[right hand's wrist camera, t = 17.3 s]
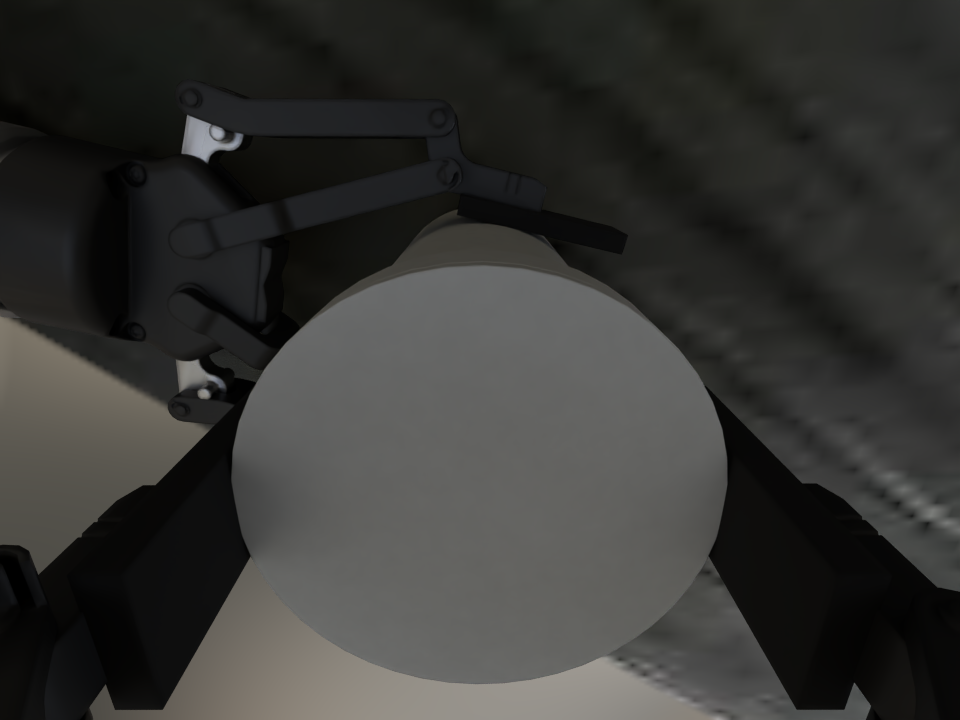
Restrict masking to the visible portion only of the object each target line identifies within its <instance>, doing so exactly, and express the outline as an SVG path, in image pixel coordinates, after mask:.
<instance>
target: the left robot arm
mask: <svg viewBox="0 0 960 720" xmlns="http://www.w3.org/2000/svg"><path fill="white" fill-rule="evenodd" d="M175 100H176V102H177V105H178V107H179V108H180V109H181V110H182V112H183V113H185V114H187V121H186V127H185V134H184V140H183V147H182V154H176V155H172V156H170V157H167V158H163V159H160V158H155V157H151V156H146V155H142V154H138V153H134V152H130V151H125V150H121V149H117V148H113V147H108V146H104V145H100V144H96V143H91V142H87V141H83V140H79V139H75V138H70V137H66V136H60V135H46V134H44V133H42V132H40V131H38V130H36V129H33V128H28V127H24V126H20V125H15V124H11V123H7V122H2V121H0V316H1V317H14V318H22V319H24V320H27V321H30V322H33V323H38V324H43V325H48V326H53V327H57V328H62V329H67V330H72V331H77V332H81V333H86V334H91V335H96V336H101V337H105V338H111V339H119V340H130V341H140V342H145V343H148V344H150V345H152V346H154V347H156V348H158V349H159V350H161V351H162V352H163V353H165V354H166V355H168V356H169V357H171V358H173V359H176V364H177V373H178V382H179V393H178V394H177V395H176V396H175V397H173V398H172V399H171V400H170V401H169V403H168V410H169V413H170V414H171V415H172V417H174V418H175V419H177V420H179V421H184V422H194V423H205V424H217V423H218V422H219V421H220V419H221V418H222V417H223V416H224V415H225V414H226V413H227V412H228V411H229V410H230V409H231V408H232V407H233V406H234V405H235V404H236V403H237V402H238V401H239V400H240V399H241V398H242V397H243V396H244V395H245V394H246V393H247V392H248V391H249V390H250V389H251V388H252V387H253V386H255V385H256V382H253V381H249V380H245V379H240V378H234V376H235V374H234V371H233V370H232V369H230V368H222V367H219V366H217V365H215V364H214V363H213V362H212V361H211V359H210V357H209V355H210V354H212V353H215V352H217V351H219V350H222V349H226V350H227V351H229V352H230V353H232V354H233V355H235V356H236V357H238V358H239V359H241V360H242V361H243V362H245V363H246V364H248V365H249V366H251V367H253V368H255V369H258V370H264V369H265V368H266V367H267V365H268V364H269V363H270V362H271V360H272V359H273V358H274V357H275V356H276V354H277V353H278V352H279V351H280V349H281V348H282V347H283V346H284V345H285V343H286V342H287V341H288V340H289V339H290V338H292V337H293V336H294V335H295V334H296V333H297V332H298V331H299V330H300V328H299V325H298V324H297V323H296V322H295V321H294V320H292V319H291V318H290V317H288V316H287V315H285V314H284V313H283V312H281V310H282V309H283V299H284V290H283V284H282V279H281V274H282V271H283V269H284V266H285V264H286V261H287V259H288V249H289V241H287V240H285V239H284V235H283V234H286V233H290V232H293V231H297V230H300V229H304V228H308V227H312V226H316V225H320V224H324V223H328V222H332V221H336V220H340V219H344V218H348V217H352V216H355V215H359V214H363V213H367V212H371V211H375V210H379V209H383V208H387V207H391V206H395V205H399V204H403V203H407V202H410V201H414V200H418V199H422V198H426V197H430V196H434V195H438V194H442V193H446V192H452V193H456V194H460V195H461V196H460V201H459V206H458V211H457V215H458V216H462V217H466V218H471V219H475V220H479V221H483V222H487V223H492V224H496V225H500V226H505V227H508V228H513V229H517V230H521V231H525V232H529V233H534V234H538V235H542V236H546V237H550V238H555V239H559V240H563V241H567V242H571V243H575V244H580V245H584V246H588V247H592V248H596V249H601V250H605V251H609V252H613V253H617V254H622V252H623V249H624V246H625V243H626V240H627V237H628V235H627V234H625V233H623V232H621V231H619V230H617V229H615V228H613V227H611V226H607V225H603V224H599V223H595V222H591V221H587V220H583V219H579V218H574V217H570V216H566V215H562V214H558V213H554V212H550V211H546V210H541V209H542V205H543V201H544V197H545V194H546V190H547V187H546V186H545V185H543V184H542V183H541V182H539V181H538V180H537V179H535V178H532V177H528V176H524V175H520V174H516V173H512V172H508V171H504V170H500V169H496V168H492V167H488V166H484V165H480V164H476V163H473V162H471V161H470V160H468V159H467V158H466V156H465V155H464V153H463V151H462V149H461V144H460V136H459V128H458V119H457V115H456V114H455V112H454V110H453V108H452V107H451V105H450V104H448V103H447V102H446V101H443V100H438V99H251V98H249V97H246V96H243V95H241V94H238V93H236V92H233V91H230V90H228V89H225V88H221V87H217V86H214V85H210V84H206V83H203V82H199V81H195V80H190V79H187V80H184V81H181V82H180V83H179V84H178V85H177V87H176V90H175ZM253 136H262V137H273V138H339V139H426V143H427V150H428V157H429V161H427V162H424V163H420V164H416V165H412V166H408V167H404V168H401V169H397V170H393V171H389V172H385V173H381V174H378V175H374V176H370V177H366V178H362V179H358V180H355V181H351V182H347V183H343V184H339V185H335V186H331V187H328V188H324V189H320V190H316V191H312V192H308V193H305V194H301V195H297V196H293V197H289V198H285V199H281V200H277V201H273V202H269V203H265V204H261V205H260V204H259V203H258V202H257V201H256V200H255V199H254V198H253V197H252V196H251V195H250V194H249V193H248V192H247V191H246V190H245V189H244V188H243V187H242V186H241V185H240V184H239V182H238V181H237V180H236V179H235V178H234V177H233V176H232V175H231V174H230V173H229V172H228V171H227V170H226V169H225V168H224V167H223V166H222V165H221V164H220V163H219V159H220V157H221V156H222V154H223V153H225V152H226V151H242V150H245V149H247V148H248V147H249V146H250V144H251V142H252V138H253ZM259 332H261V333H263V334H264V335H263V334H260V333H259Z"/></svg>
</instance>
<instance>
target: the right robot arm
mask: <svg viewBox="0 0 960 720" xmlns="http://www.w3.org/2000/svg"><path fill="white" fill-rule="evenodd" d="M253 388H254V386H253V387H252V388H251V389H250V390H249V391H248V392H247V393H246V394H245V395H244V396H243V397H242V398H241V399H240V400H239V401H238V402H237V403H236V404H235V405H234V406H233V407H232V408H231V409H230V410H229V411H228V412H227V413H226V414H225V415H224V416H223V417H222V418H221V419H220V421H219V422H218V423H217V424H216V425H215V426H214V427H213V428H212V429H211V430H210V431H209V432H208V433H207V434H206V435H205V436H204V437H203V438H202V439H201V440H200V441H199V442H198V443H197V444H196V445H195V446H194V447H193V448H192V449H191V450H190V451H189V452H188V453H187V454H186V455H185V456H184V457H183V458H182V459H181V460H180V461H179V462H178V463H177V464H176V465H175V466H174V467H173V468H172V469H171V470H170V471H169V472H168V473H167V474H166V475H165V476H164V477H163V478H162V479H161V480H160V481H159V482H158V483H157V484H156V485H143V486H141V487H139V488H138V489H136V490H134V491H133V492H131V493H129V494H128V495H126V496H124V497H122V498H121V499H119V500H117V501H116V502H115V503H114V504H113V505H112V506H111V507H110V508H109V509H108V510H107V511H105V512H104V513H103V514H102V515H101V516H100V517H99V518H98V522H94V523H93V524H92V525H91V526H90V527H89V528H87V529H86V530H85V531H84V532H83V533H82V537H81V538H77V539H76V540H75V541H74V542H73V543H72V544H71V545H70V546H68V547H67V548H66V549H65V550H64V551H63V552H62V553H61V554H60V555H59V556H58V557H57V558H56V559H55V560H54V561H53V562H52V563H51V564H49V565H48V566H47V567H46V568H45V569H44V570H43V571H42V572H41V573H40V574H39V575H38V573H37V571H36V568H35V565H34V563H33V560H32V558H31V555H30V552H29V551H28V550H26V549H25V548H23V547H21V546H19V545H0V720H93V716H92V713H91V711H90V708H89V707H90V705H91V704H92V703H93V701H94V700H95V698H96V697H97V696H98V694H99V693H100V691H101V690H102V688H103V687H104V686H105V684H106V686H107V689H108V692H109V694H110V697H111V700H112V703H113V705H114V708H115V710H163V708H164V707H165V705H166V703H167V701H168V700H169V698H170V696H171V694H172V693H173V691H174V689H175V687H176V686H177V684H178V682H179V680H180V678H181V677H182V675H183V673H184V672H185V670H186V668H187V666H188V665H189V663H190V661H191V659H192V658H193V656H194V654H195V652H196V651H197V649H198V647H199V645H200V644H201V642H202V640H203V638H204V637H205V635H206V633H207V631H208V630H209V628H210V626H211V625H212V623H213V621H214V619H215V617H216V616H217V614H218V612H219V611H220V609H221V607H222V605H223V604H224V602H225V600H226V598H227V597H228V595H229V593H230V591H231V590H232V588H233V586H234V584H235V583H236V581H237V579H238V577H239V576H240V574H241V572H242V570H243V569H244V567H245V565H246V563H247V562H248V560H249V558H250V556H251V555H250V553H249V551H248V548H247V546H246V544H245V541H244V539H243V537H242V533H241V528H240V524H239V519H238V514H237V509H236V504H235V499H234V493H233V488H232V482H231V474H232V455H233V447H234V442H235V438H236V433H237V429H238V424H239V421H240V418H241V416H242V413H243V410H244V408H245V405H246V403H247V400H248V398H249V395H250V393H251V392H252V390H253ZM705 388H706V390H707V392H708V394H709V396H710V398H711V400H712V401H713V404H714V407H715V410H716V413H717V416H718V419H719V421H720V424H721V427H722V431H723V436H724V442H725V448H726V454H727V477H728V485H727V490H726V496H725V501H724V506H723V511H722V516H721V521H720V525H719V530H718V534H717V538H716V540H715V542H714V545H713V547H712V549H711V551H710V553H709V555H708V556H709V557H710V559H711V561H712V563H713V564H714V566H715V568H716V570H717V571H718V573H719V575H720V577H721V578H722V580H723V582H724V584H725V585H726V587H727V589H728V591H729V592H730V594H731V596H732V598H733V599H734V601H735V603H736V605H737V606H738V608H739V610H740V612H741V613H742V615H743V617H744V618H745V620H746V622H747V624H748V625H749V627H750V629H751V631H752V632H753V634H754V636H755V638H756V639H757V641H758V643H759V645H760V646H761V648H762V650H763V652H764V653H765V655H766V657H767V659H768V660H769V662H770V664H771V666H772V667H773V669H774V671H775V673H776V674H777V676H778V678H779V680H780V681H781V683H782V685H783V687H784V688H785V690H786V692H787V694H788V695H789V697H790V699H791V700H792V702H793V704H794V706H795V707H796V709H797V710H844V709H845V706H846V703H847V701H848V698H849V695H850V692H851V690H852V687H853V684H854V682H855V684H856V685H857V686H858V688H859V689H860V691H861V692H862V694H863V695H864V696H865V698H866V699H867V701H868V702H869V703H870V705H871V708H870V711H869V713H868V716H867V719H866V720H960V592H958V591H953V590H948V589H944V588H937V587H936V586H935V585H934V584H933V583H932V582H931V581H930V580H929V579H928V578H927V577H926V576H924V575H923V574H922V573H921V572H920V571H919V570H918V569H917V568H916V567H915V566H914V565H913V564H912V563H911V562H910V561H909V560H907V559H906V558H905V557H904V556H903V555H902V554H901V553H900V552H899V551H898V550H897V549H896V548H895V547H894V546H893V545H892V544H890V543H889V542H888V541H887V540H886V539H885V538H884V537H883V536H882V535H878V531H877V530H876V529H875V528H873V527H872V526H871V525H870V524H869V523H868V522H867V521H866V520H862V516H861V515H860V514H859V513H858V512H856V511H855V510H854V509H853V508H852V507H851V506H850V505H849V504H848V503H847V502H846V501H845V500H844V499H842V498H841V497H839V496H837V495H836V494H834V493H832V492H830V491H829V490H827V489H825V488H823V487H822V486H820V485H818V484H802V483H801V482H800V481H799V480H798V479H797V478H796V477H795V476H794V475H793V474H792V473H791V472H790V471H789V470H788V469H787V468H786V467H785V466H784V465H783V464H782V463H781V462H780V461H779V460H778V459H777V458H776V457H775V456H774V455H773V454H772V452H771V451H770V450H769V449H768V448H767V447H766V446H765V445H764V444H763V443H762V442H761V441H760V440H759V439H758V438H757V437H756V436H755V435H754V434H753V433H752V432H751V431H750V430H749V429H748V428H747V427H746V426H745V425H744V424H743V423H742V422H741V421H740V420H739V419H738V418H737V417H736V416H735V415H734V414H733V413H732V412H731V411H730V410H729V409H728V408H727V407H726V406H725V405H724V404H723V403H722V402H721V401H720V400H719V399H718V398H717V397H716V396H715V395H714V394H713V393H712V392H711V391H710V390H709V389H708V388H707V387H706V386H705Z"/></svg>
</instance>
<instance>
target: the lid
mask: <svg viewBox="0 0 960 720" xmlns="http://www.w3.org/2000/svg"><path fill="white" fill-rule="evenodd" d="M231 482H232V488H233V493H234V499H235V504H236V509H237V514H238V519H239V524H240V528H241V533H242V537H243V539H244V541H245V544H246V546H247V548H248V551H249V553H250V555H251V558H252V559H253V561H254V563H255V564H256V566H257V568H258V569H259V571H260V573H261V574H262V576H263V578H264V579H265V581H266V582H267V583H268V585H269V586H270V587H271V588H272V590H273V591H274V592H275V593H276V595H277V596H278V597H279V599H280V600H281V601H282V602H283V603H284V604H285V605H286V606H287V607H288V608H289V609H290V610H291V611H292V612H293V613H294V614H295V615H296V616H297V617H298V618H299V619H300V620H301V621H303V622H304V623H305V624H307V625H308V626H309V627H310V628H312V629H313V630H314V631H315V632H317V633H318V634H319V635H321V636H322V637H323V638H325V639H327V640H328V641H330V642H332V643H333V644H335V645H337V646H338V647H340V648H341V649H343V650H345V651H347V652H349V653H351V654H353V655H355V656H357V657H359V658H361V659H363V660H365V661H368V662H370V663H373V664H375V665H378V666H381V667H384V668H386V669H389V670H392V671H395V672H399V673H403V674H407V675H411V676H414V677H418V678H423V679H430V680H436V681H442V682H449V683H466V684H492V683H509V682H516V681H524V680H531V679H536V678H540V677H545V676H549V675H553V674H558V673H561V672H564V671H567V670H570V669H573V668H576V667H579V666H582V665H584V664H587V663H589V662H591V661H593V660H596V659H598V658H600V657H602V656H605V655H607V654H609V653H611V652H612V651H614V650H616V649H618V648H619V647H621V646H623V645H625V644H626V643H628V642H630V641H631V640H633V639H634V638H636V637H637V636H638V635H640V634H641V633H642V632H644V631H645V630H647V629H648V628H649V627H651V626H652V625H653V624H654V623H655V622H657V621H658V620H659V619H660V618H661V617H662V616H663V615H664V614H665V613H666V612H667V611H668V610H670V609H671V608H672V607H673V606H674V604H675V603H676V602H677V601H678V600H679V599H680V597H681V596H682V595H683V594H684V593H685V591H686V590H687V589H688V588H689V587H690V585H691V584H692V582H693V581H694V579H695V578H696V576H697V575H698V573H699V572H700V570H701V568H702V567H703V565H704V564H705V562H706V560H707V557H708V555H709V553H710V551H711V549H712V547H713V545H714V542H715V540H716V538H717V534H718V530H719V525H720V521H721V516H722V511H723V506H724V501H725V496H726V490H727V485H728V477H727V454H726V448H725V442H724V436H723V431H722V427H721V424H720V421H719V419H718V416H717V413H716V410H715V407H714V404H713V401H712V400H711V398H710V396H709V394H708V392H707V390H706V388H705V386H704V385H703V383H702V381H701V379H700V377H699V375H698V374H697V372H696V371H695V370H694V368H693V367H692V366H691V364H690V363H689V362H688V360H687V359H686V358H685V357H684V355H683V354H682V353H681V351H680V350H679V349H678V348H677V347H676V346H675V345H674V344H673V343H672V342H671V341H670V340H669V339H668V338H667V337H666V336H665V335H664V334H663V333H662V332H661V331H660V330H659V329H658V328H657V327H656V326H655V325H654V324H653V323H652V322H651V321H649V320H648V319H647V318H646V317H645V316H644V315H643V314H642V313H641V312H640V311H639V310H638V309H637V308H636V307H635V306H634V305H633V304H632V303H631V302H629V301H628V300H627V299H625V298H624V297H622V296H621V295H620V294H618V293H617V292H616V291H614V290H613V289H611V288H610V287H609V286H607V285H606V284H604V283H602V282H600V281H598V280H596V279H594V278H592V277H591V276H589V275H587V274H585V273H583V272H581V271H579V270H577V269H574V268H571V267H568V266H566V265H563V264H560V263H558V262H555V261H552V260H549V259H545V258H541V257H536V256H531V255H527V254H522V253H518V252H507V251H495V250H464V251H449V252H444V253H438V254H433V255H427V256H422V257H417V258H414V259H411V260H408V261H405V262H402V263H399V264H396V265H393V266H390V267H387V268H385V269H383V270H381V271H379V272H377V273H375V274H373V275H371V276H369V277H366V278H364V279H362V280H360V281H359V282H357V283H356V284H354V285H353V286H351V287H350V288H348V289H347V290H345V291H344V292H342V293H341V294H339V295H338V296H336V297H335V298H334V299H332V300H331V301H330V302H329V303H328V304H327V305H326V306H325V307H324V308H322V309H321V310H320V311H319V312H318V313H317V314H316V315H315V316H314V317H312V318H311V319H310V320H309V321H308V322H307V323H306V324H305V325H304V326H303V327H302V328H301V329H300V330H299V331H298V332H297V333H296V334H295V335H294V336H293V337H292V338H290V339H289V340H288V341H287V342H286V343H285V345H284V346H283V347H282V348H281V349H280V351H279V352H278V353H277V354H276V356H275V357H274V358H273V359H272V360H271V362H270V363H269V364H268V365H267V367H266V368H265V369H264V371H263V373H262V375H261V376H260V378H259V380H258V381H257V383H256V385H255V386H254V388H253V390H252V392H251V393H250V395H249V398H248V400H247V403H246V405H245V408H244V410H243V413H242V416H241V418H240V421H239V424H238V429H237V433H236V438H235V442H234V447H233V455H232V474H231Z"/></svg>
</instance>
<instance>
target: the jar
mask: <svg viewBox="0 0 960 720" xmlns="http://www.w3.org/2000/svg"><path fill="white" fill-rule="evenodd" d="M457 211H458V209H457V210H453V211H451V212H448V213H446V214H444V215H442V216H440V217H438V218H437V219H435V220H433V221H432V222H431V223H429V224H428V225H427V226H426V227H424V228H423V229H422V230H421V231H420V233H419V234H418V235H417V236H416V237H415V238H414V239H413V241H412V242H411V243H410V244H409V245H408V247H407V248H406V249H405V250H404V252H403V253H402V254H401V255H400V256H399V258H398V259H397V260H396V261H395V263H394V264H393V265H396V264H399V263H402V262H405V261H408V260H411V259H414V258H417V257H422V256H427V255H433V254H438V253H444V252H449V251H464V250H495V251H507V252H518V253H522V254H527V255H531V256H536V257H541V258H545V259H549V260H552V261H555V262H558V263H560V264H563V265H566V266H568V265H567V264H566V263H565V262H564V260H563V259H562V258H561V257H560V255H559V254H558V253H557V252H556V250H555V249H554V248H553V247H552V246H551V244H550V243H549V242H548V241H547V239H546V238H545V237H544V236H542V235H538V234H534V233H529V232H525V231H521V230H517V229H513V228H508V227H505V226H500V225H496V224H492V223H487V222H483V221H479V220H475V219H471V218H466V217H462V216H458V215H457ZM393 265H392V266H393ZM568 267H569V266H568Z"/></svg>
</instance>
